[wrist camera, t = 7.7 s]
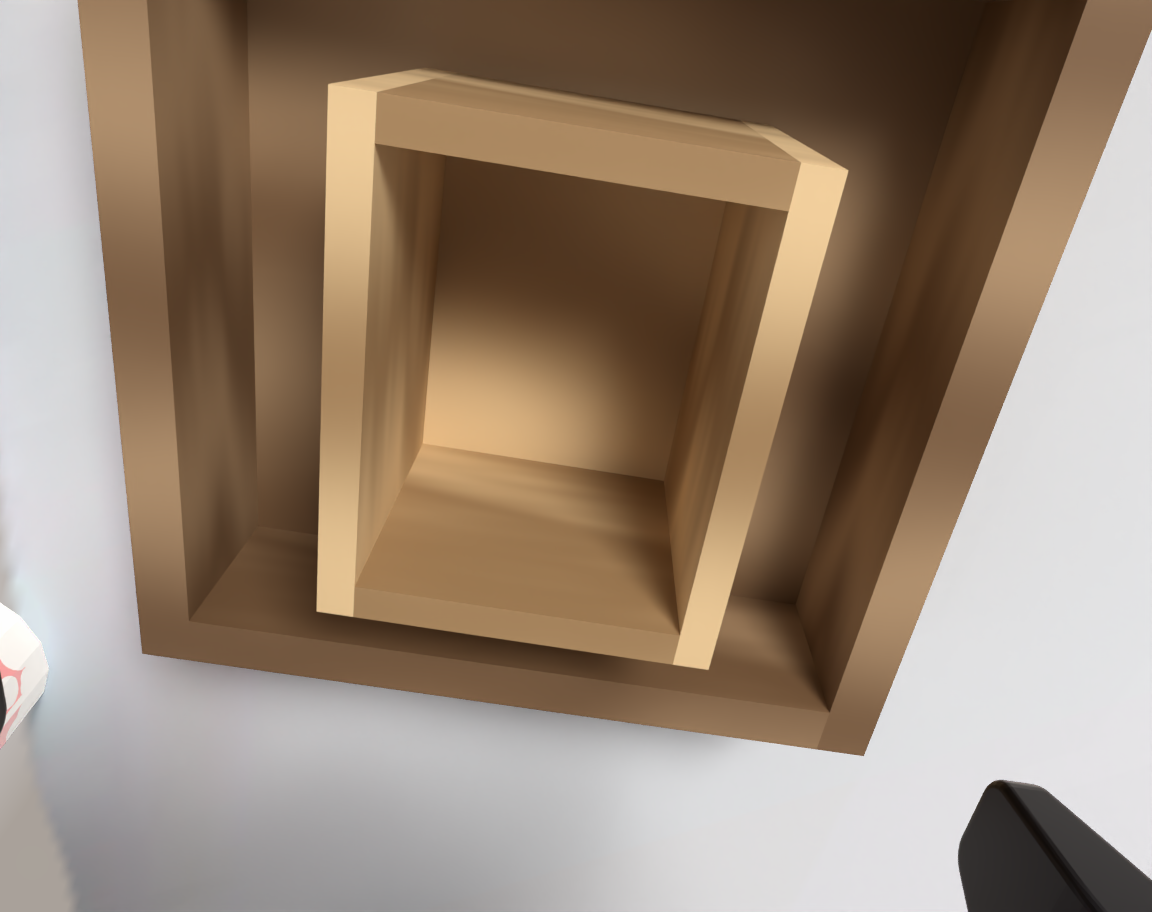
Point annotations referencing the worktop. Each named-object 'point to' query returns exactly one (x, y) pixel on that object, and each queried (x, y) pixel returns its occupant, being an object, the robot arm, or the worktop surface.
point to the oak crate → (553, 357)
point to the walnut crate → (821, 370)
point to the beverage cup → (19, 669)
